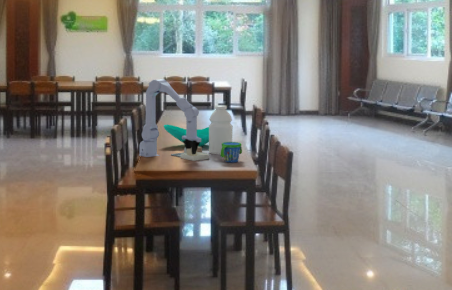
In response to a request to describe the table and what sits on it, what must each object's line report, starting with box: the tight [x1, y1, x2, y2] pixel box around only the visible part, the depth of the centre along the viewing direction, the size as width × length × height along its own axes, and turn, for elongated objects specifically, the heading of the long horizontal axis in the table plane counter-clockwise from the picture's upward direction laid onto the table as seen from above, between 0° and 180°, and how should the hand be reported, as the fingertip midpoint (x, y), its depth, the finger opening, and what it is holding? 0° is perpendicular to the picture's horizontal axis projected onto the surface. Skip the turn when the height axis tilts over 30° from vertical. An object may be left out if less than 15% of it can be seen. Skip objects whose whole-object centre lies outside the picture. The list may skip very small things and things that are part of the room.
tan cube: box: [197, 146, 203, 153], centre depth 378 cm, size 4×4×4 cm
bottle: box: [208, 104, 234, 155], centre depth 382 cm, size 14×14×28 cm
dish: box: [180, 152, 210, 162], centre depth 362 cm, size 11×11×3 cm
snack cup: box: [220, 141, 243, 164], centre depth 356 cm, size 16×10×10 cm
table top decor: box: [163, 124, 209, 147], centre depth 410 cm, size 40×28×13 cm
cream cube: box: [187, 148, 197, 156], centre depth 361 cm, size 4×4×4 cm
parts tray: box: [170, 151, 208, 158], centre depth 374 cm, size 18×10×1 cm, turn 132°
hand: (191, 153), depth 360 cm, fingers closed on cream cube, 4 cm apart
